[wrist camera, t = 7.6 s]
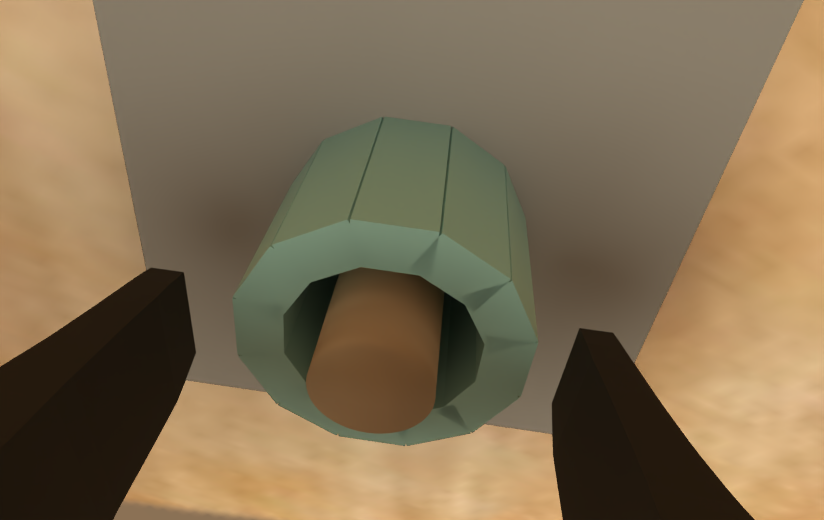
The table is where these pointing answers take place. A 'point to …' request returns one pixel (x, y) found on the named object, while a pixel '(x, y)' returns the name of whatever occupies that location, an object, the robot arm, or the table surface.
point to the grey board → (447, 105)
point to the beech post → (378, 351)
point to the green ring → (397, 268)
